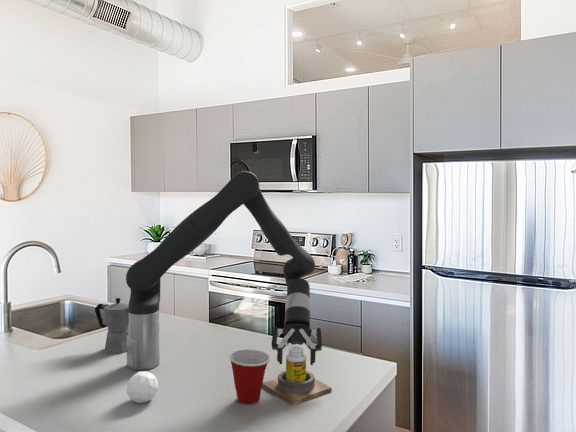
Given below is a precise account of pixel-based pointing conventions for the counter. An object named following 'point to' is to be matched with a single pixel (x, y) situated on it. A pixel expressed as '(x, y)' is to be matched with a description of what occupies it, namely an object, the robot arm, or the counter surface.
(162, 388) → the counter surface
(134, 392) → the geometric ball
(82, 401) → the counter surface
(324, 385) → the ring collar
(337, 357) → the counter surface
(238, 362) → the plastic cup
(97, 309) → the coffeepot
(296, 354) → the supplement bottle
